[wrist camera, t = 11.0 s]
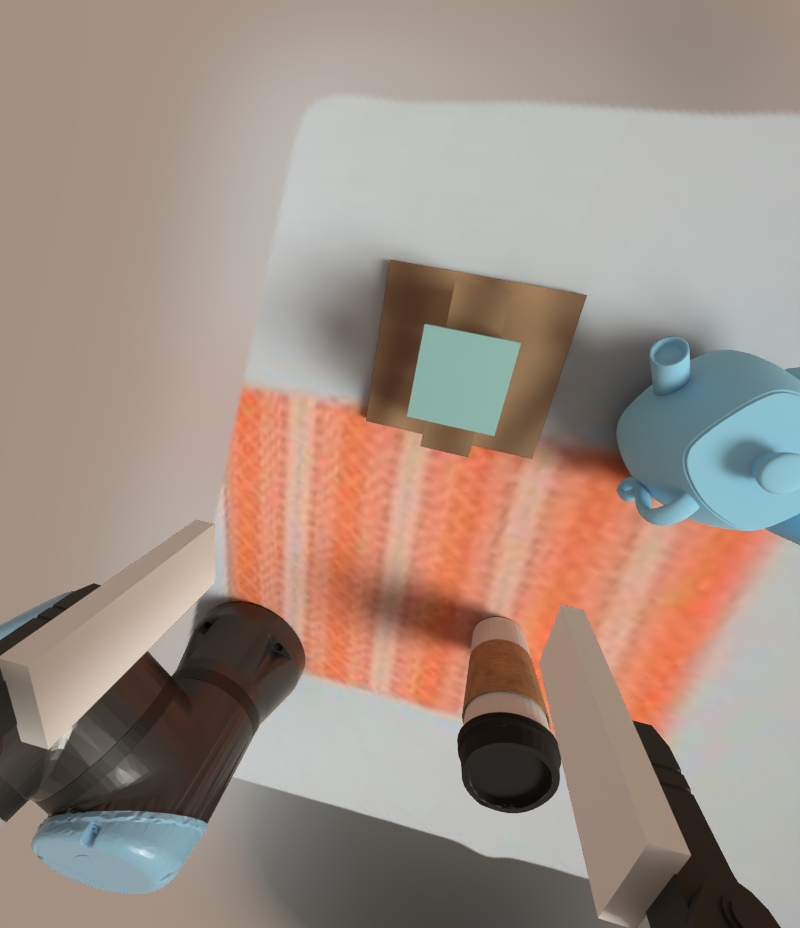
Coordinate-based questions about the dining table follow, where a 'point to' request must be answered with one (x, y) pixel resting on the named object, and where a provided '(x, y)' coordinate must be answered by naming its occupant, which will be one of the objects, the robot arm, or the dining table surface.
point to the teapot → (714, 441)
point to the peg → (462, 378)
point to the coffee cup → (506, 724)
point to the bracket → (483, 312)
